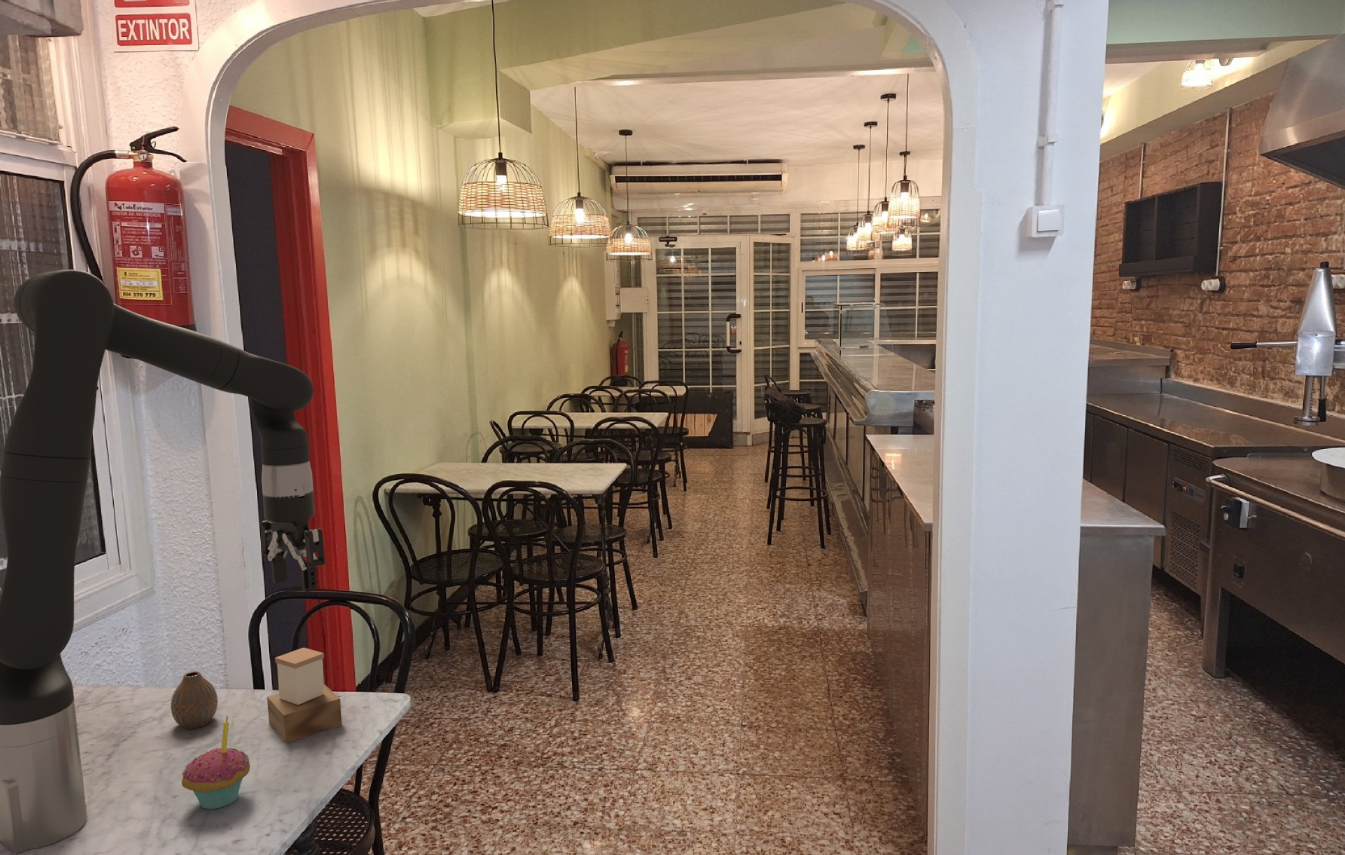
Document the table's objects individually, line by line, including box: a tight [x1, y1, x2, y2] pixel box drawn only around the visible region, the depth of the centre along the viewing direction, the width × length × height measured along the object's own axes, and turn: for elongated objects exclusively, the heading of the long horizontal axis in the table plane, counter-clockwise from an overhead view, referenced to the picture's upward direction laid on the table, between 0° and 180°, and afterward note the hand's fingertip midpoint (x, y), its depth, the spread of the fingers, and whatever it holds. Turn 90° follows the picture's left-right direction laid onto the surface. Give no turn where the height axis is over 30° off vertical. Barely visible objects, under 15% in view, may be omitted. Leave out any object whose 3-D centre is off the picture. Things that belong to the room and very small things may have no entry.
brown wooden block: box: [266, 683, 343, 744], centre depth 145 cm, size 9×9×5 cm
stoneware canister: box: [274, 647, 325, 705], centre depth 144 cm, size 5×5×7 cm
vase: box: [170, 670, 219, 730], centre depth 145 cm, size 7×7×9 cm
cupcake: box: [181, 715, 251, 810], centre depth 122 cm, size 9×8×12 cm
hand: (294, 586), depth 142 cm, fingers open, 8 cm apart
